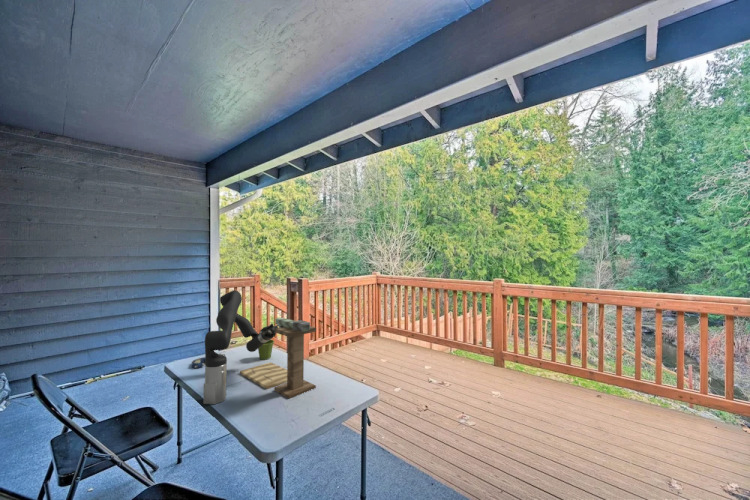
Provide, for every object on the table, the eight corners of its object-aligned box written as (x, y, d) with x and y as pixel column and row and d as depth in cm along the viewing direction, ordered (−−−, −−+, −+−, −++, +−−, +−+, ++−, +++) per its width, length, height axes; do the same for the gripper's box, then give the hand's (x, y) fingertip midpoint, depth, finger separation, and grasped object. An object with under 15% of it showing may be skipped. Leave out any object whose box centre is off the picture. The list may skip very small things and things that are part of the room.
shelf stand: (315, 388, 159) (316, 327, 160) (289, 398, 147) (289, 333, 148) (300, 381, 168) (300, 323, 169) (274, 390, 156) (275, 328, 157)
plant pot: (256, 356, 210) (256, 340, 210) (274, 354, 213) (274, 338, 213) (255, 362, 198) (255, 344, 199) (273, 360, 202) (274, 343, 202)
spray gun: (230, 362, 197) (222, 357, 208) (230, 356, 197) (222, 351, 208) (194, 371, 183) (188, 365, 193) (194, 364, 183) (188, 359, 193)
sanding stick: (309, 330, 154) (310, 322, 154) (301, 331, 150) (301, 323, 150) (282, 322, 171) (282, 315, 172) (274, 324, 168) (274, 316, 168)
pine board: (299, 378, 172) (299, 375, 172) (266, 389, 157) (266, 386, 157) (270, 364, 193) (270, 362, 194) (239, 373, 179) (239, 370, 179)
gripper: (253, 330, 174) (266, 319, 165) (276, 326, 185) (288, 316, 176) (256, 343, 171) (269, 332, 162) (279, 338, 182) (292, 328, 173)
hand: (279, 324), depth 169 cm, fingers open, 8 cm apart
